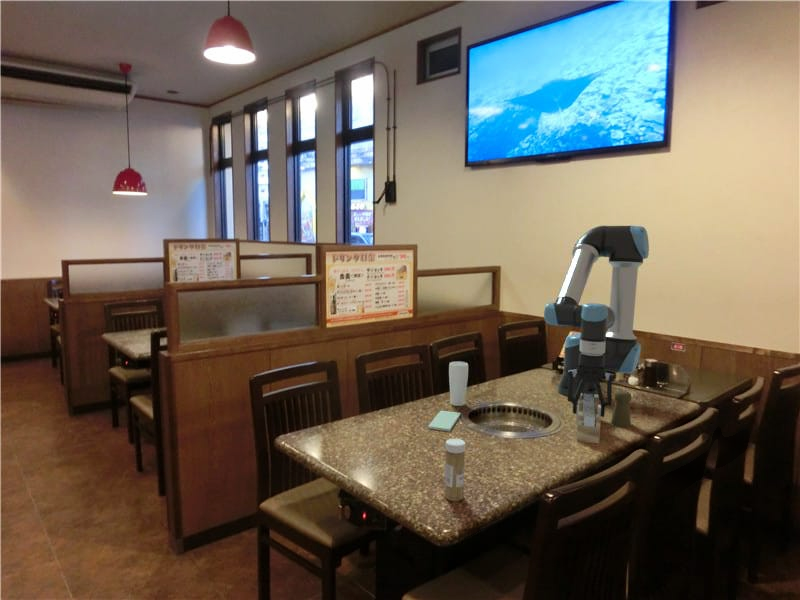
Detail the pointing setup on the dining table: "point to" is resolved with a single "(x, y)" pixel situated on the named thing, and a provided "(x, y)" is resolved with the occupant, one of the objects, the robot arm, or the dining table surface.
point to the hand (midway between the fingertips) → (587, 424)
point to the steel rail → (588, 410)
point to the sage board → (444, 421)
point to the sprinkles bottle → (454, 469)
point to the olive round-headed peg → (621, 409)
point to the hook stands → (588, 432)
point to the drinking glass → (458, 382)
